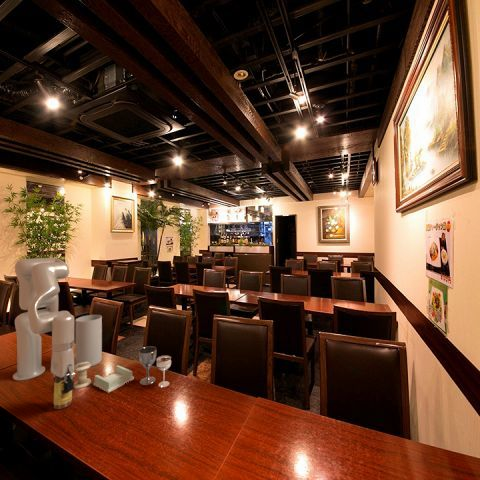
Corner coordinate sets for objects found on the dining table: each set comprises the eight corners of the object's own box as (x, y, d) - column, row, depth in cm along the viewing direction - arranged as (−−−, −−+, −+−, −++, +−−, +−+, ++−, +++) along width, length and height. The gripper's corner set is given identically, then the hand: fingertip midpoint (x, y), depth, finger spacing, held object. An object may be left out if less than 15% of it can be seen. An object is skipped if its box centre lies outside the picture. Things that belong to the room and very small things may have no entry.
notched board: (93, 384, 118) (93, 376, 118) (119, 372, 129) (119, 364, 129) (108, 392, 112) (108, 383, 112) (134, 379, 123) (134, 370, 123)
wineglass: (167, 389, 115) (167, 362, 115) (153, 387, 116) (153, 361, 116) (173, 381, 121) (173, 356, 121) (160, 379, 123) (161, 354, 123)
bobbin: (70, 385, 117) (70, 366, 117) (86, 378, 123) (86, 360, 123) (78, 390, 114) (78, 370, 114) (93, 382, 120) (94, 364, 120)
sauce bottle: (62, 411, 100) (62, 361, 100) (49, 409, 101) (49, 359, 101) (76, 400, 106) (76, 353, 106) (63, 399, 107) (64, 352, 108)
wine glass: (135, 383, 119) (135, 351, 119) (147, 375, 127) (147, 345, 127) (148, 386, 116) (148, 354, 116) (159, 378, 124) (159, 347, 124)
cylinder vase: (103, 356, 147) (103, 314, 148) (99, 366, 135) (99, 320, 136) (79, 359, 143) (79, 316, 144) (72, 370, 132) (72, 322, 132)
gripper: (43, 344, 105) (43, 386, 105) (63, 353, 96) (63, 400, 96) (63, 338, 111) (63, 378, 111) (84, 346, 102) (84, 390, 102)
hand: (63, 388), depth 104 cm, fingers open, 7 cm apart
